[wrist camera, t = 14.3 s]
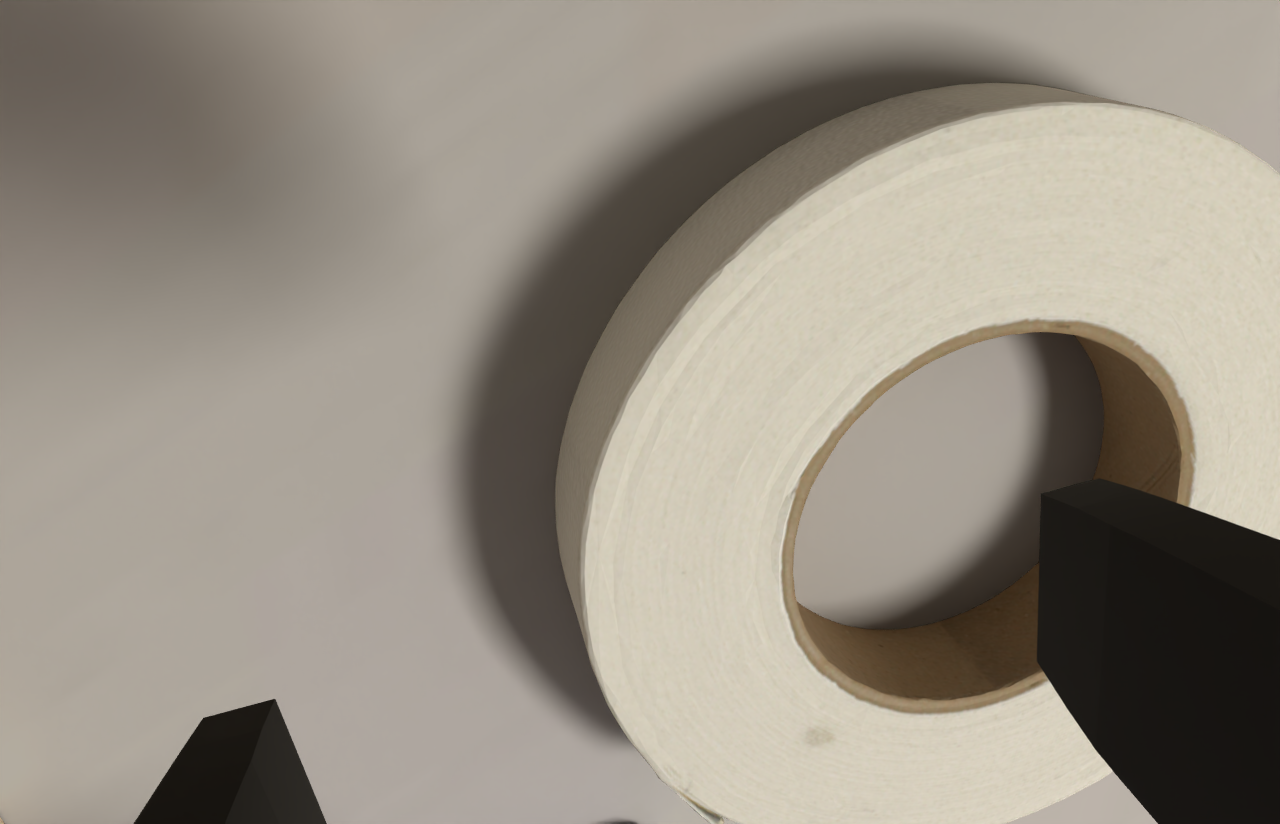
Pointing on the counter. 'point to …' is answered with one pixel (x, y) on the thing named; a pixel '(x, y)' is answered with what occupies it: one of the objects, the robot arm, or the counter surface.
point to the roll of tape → (850, 383)
